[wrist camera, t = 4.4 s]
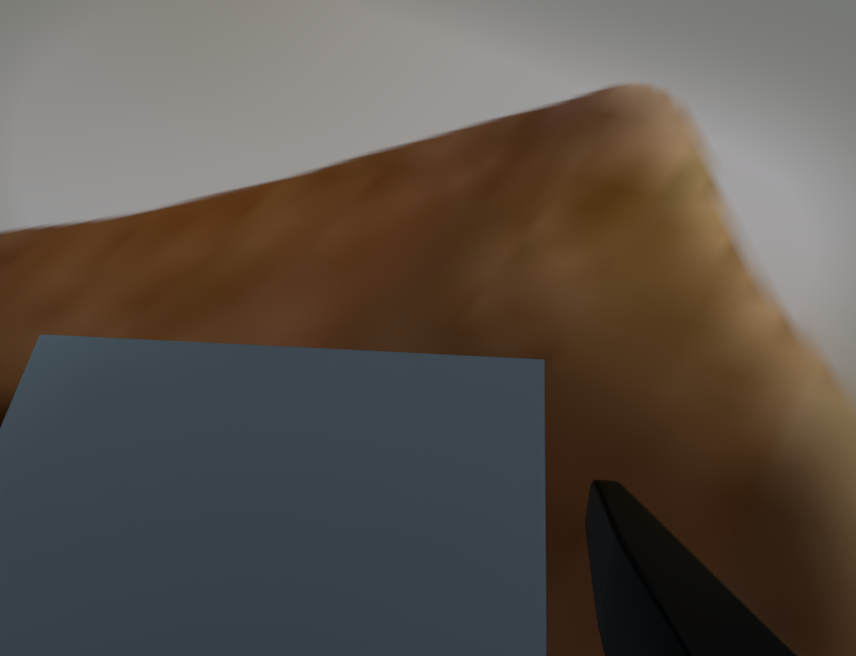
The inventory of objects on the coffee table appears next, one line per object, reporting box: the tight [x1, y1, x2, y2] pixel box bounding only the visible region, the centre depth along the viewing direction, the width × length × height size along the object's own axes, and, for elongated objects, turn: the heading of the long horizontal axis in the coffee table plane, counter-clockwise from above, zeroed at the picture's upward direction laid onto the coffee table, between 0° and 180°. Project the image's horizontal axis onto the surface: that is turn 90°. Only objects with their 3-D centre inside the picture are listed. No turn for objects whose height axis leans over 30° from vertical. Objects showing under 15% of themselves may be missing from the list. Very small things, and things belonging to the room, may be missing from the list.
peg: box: [0, 334, 547, 656], centre depth 8 cm, size 4×4×12 cm
